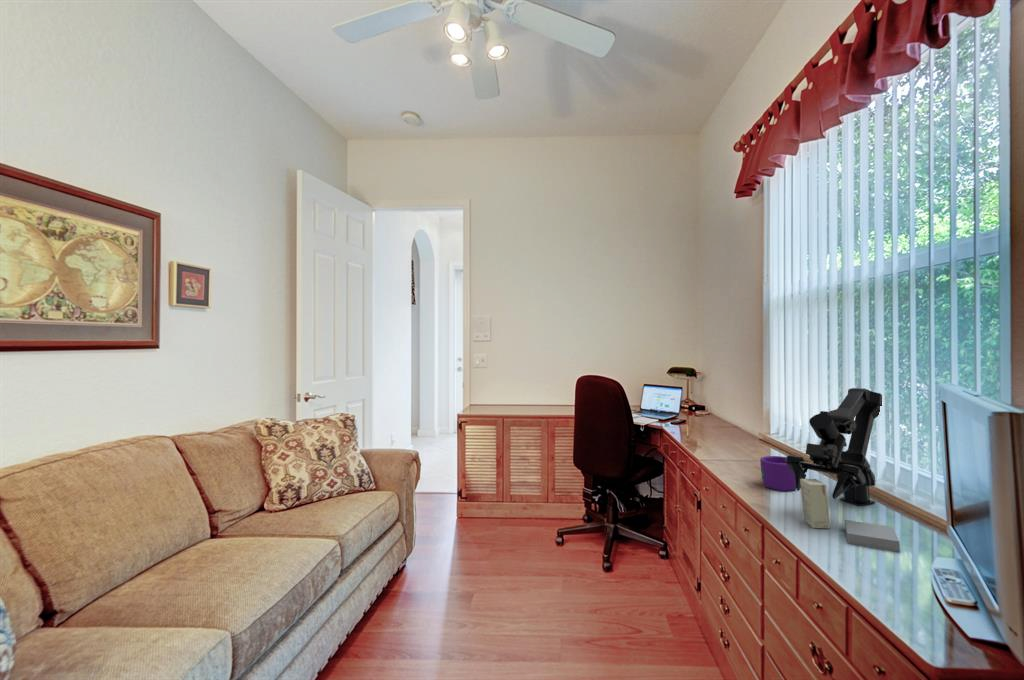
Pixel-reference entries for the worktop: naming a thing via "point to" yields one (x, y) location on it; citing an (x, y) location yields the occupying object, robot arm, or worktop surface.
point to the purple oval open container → (777, 473)
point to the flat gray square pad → (872, 535)
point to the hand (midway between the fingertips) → (814, 493)
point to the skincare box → (814, 503)
